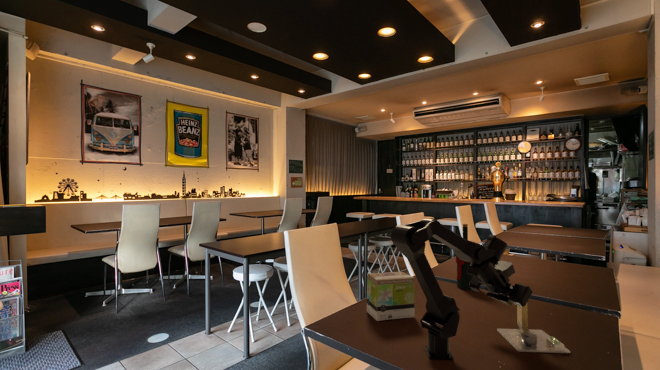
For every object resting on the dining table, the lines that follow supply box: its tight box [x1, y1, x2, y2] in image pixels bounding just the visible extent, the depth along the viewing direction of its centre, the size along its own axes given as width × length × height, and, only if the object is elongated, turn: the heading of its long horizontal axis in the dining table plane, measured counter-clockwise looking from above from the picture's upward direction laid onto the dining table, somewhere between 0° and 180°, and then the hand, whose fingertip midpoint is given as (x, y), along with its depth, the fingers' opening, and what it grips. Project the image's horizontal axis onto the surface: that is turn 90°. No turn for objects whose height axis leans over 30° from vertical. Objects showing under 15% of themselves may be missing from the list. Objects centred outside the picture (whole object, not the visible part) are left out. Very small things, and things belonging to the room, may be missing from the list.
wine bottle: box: [455, 223, 474, 291], centre depth 152 cm, size 8×10×30 cm
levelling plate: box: [496, 328, 571, 354], centre depth 98 cm, size 14×14×3 cm
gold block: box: [516, 302, 537, 345], centre depth 101 cm, size 16×4×11 cm, turn 159°
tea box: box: [366, 271, 416, 322], centre depth 119 cm, size 15×10×15 cm, turn 106°
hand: (510, 304), depth 104 cm, fingers closed
